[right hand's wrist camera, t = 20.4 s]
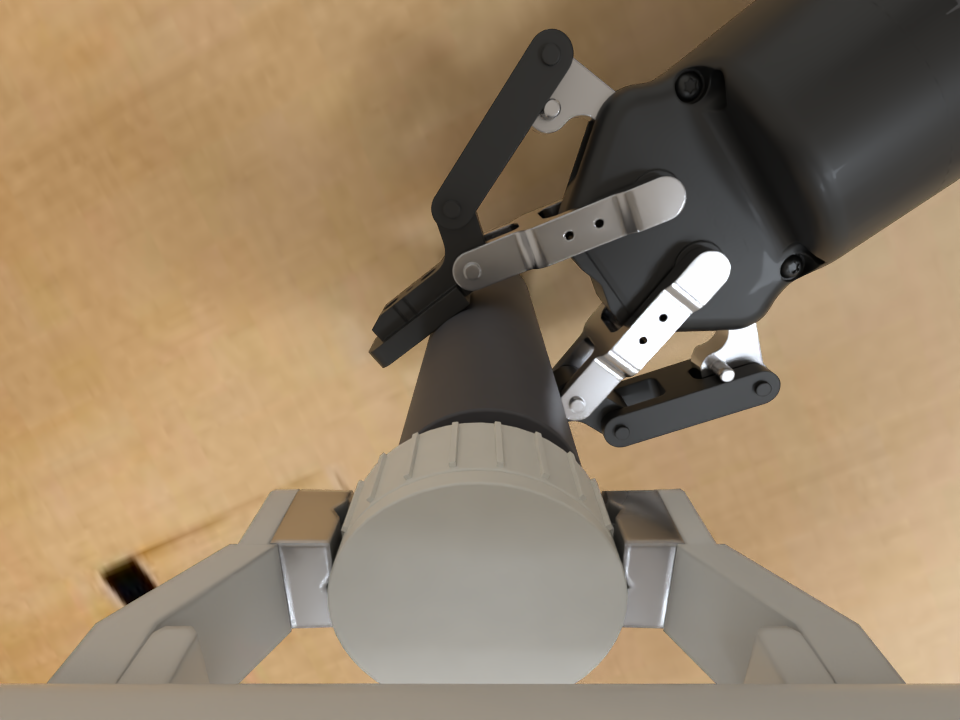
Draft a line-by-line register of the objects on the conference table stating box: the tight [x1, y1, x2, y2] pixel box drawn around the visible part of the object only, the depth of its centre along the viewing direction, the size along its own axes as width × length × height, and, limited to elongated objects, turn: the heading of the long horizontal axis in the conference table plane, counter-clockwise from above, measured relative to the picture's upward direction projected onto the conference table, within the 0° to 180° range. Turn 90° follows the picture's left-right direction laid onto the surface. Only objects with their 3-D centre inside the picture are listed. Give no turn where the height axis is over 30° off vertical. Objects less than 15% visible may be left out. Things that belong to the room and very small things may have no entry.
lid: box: [328, 421, 628, 684], centre depth 10 cm, size 5×5×2 cm
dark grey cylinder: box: [399, 274, 581, 466], centre depth 17 cm, size 4×4×16 cm
